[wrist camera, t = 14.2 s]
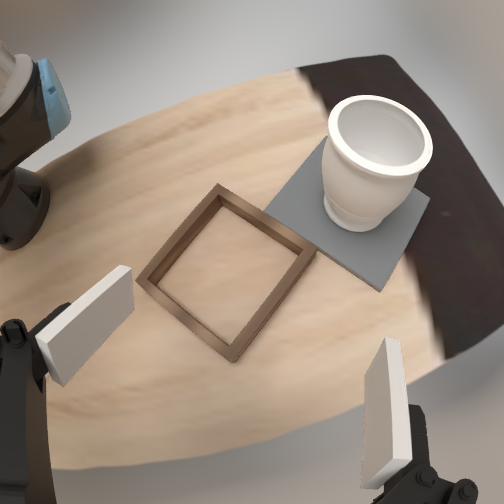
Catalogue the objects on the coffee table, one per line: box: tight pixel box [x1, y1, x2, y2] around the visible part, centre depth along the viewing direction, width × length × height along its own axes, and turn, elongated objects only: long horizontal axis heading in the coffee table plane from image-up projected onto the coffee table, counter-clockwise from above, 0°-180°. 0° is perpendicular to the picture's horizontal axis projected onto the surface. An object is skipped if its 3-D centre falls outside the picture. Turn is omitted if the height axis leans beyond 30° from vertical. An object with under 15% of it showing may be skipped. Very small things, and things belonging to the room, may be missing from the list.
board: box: [263, 135, 430, 292], centre depth 41 cm, size 18×16×1 cm
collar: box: [135, 183, 318, 363], centre depth 39 cm, size 15×16×3 cm
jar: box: [322, 95, 433, 232], centre depth 33 cm, size 11×10×15 cm
